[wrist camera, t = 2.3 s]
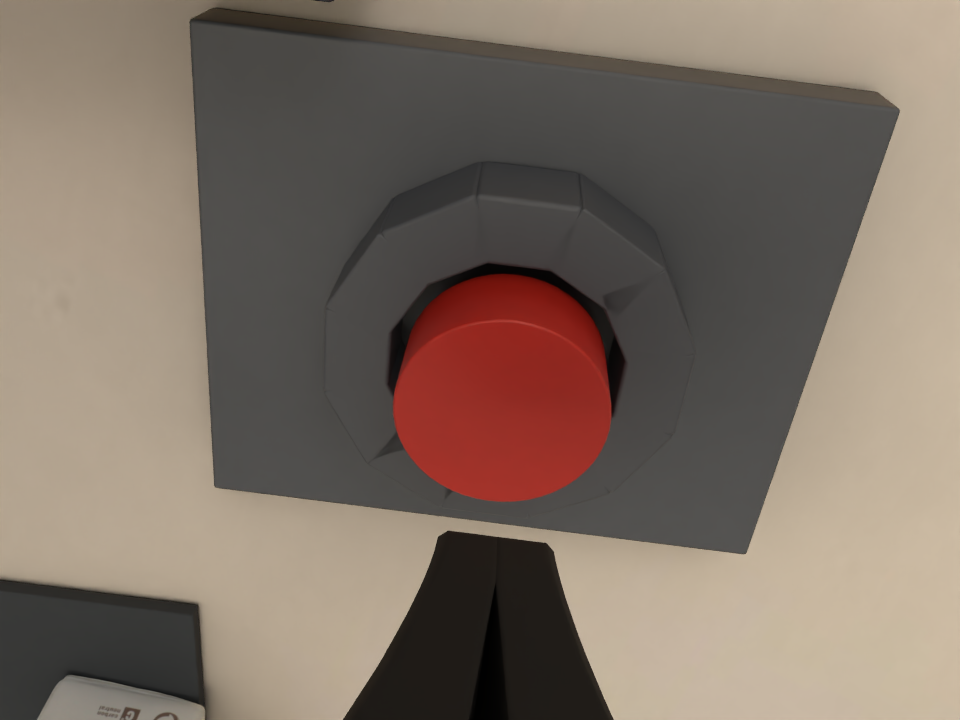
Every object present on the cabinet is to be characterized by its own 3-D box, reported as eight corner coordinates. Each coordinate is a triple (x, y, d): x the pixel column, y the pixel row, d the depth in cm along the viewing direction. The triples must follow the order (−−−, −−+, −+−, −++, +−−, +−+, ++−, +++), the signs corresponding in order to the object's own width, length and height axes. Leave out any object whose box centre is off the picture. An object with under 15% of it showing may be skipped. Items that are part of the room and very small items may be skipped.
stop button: (399, 432, 17) (386, 489, 16) (413, 259, 15) (399, 306, 14) (587, 455, 17) (591, 514, 16) (622, 286, 15) (631, 335, 14)
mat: (-97, 789, 29) (-105, 801, 28) (-180, 556, 23) (-191, 567, 23) (214, 828, 29) (210, 840, 28) (198, 604, 23) (192, 615, 23)
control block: (229, 456, 21) (185, 543, 18) (210, 7, 16) (145, 39, 13) (736, 520, 21) (764, 616, 18) (879, 91, 16) (944, 140, 13)
